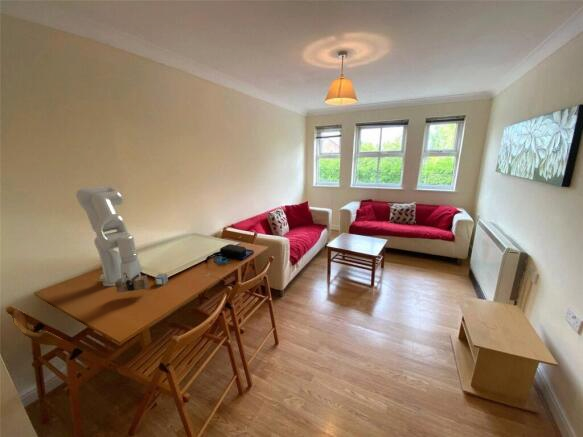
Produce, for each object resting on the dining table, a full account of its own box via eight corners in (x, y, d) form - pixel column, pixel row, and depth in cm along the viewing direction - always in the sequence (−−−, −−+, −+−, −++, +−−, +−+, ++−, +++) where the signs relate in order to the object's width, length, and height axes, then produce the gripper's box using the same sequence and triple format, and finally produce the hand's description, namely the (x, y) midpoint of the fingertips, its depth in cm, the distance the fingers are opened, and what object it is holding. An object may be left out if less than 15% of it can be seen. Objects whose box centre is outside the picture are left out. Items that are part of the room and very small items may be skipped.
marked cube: (155, 285, 147) (154, 277, 146) (160, 280, 152) (159, 273, 151) (163, 285, 147) (162, 277, 146) (168, 280, 152) (167, 273, 151)
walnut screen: (117, 292, 131) (115, 282, 129) (121, 287, 136) (119, 278, 134) (145, 289, 134) (143, 279, 132) (148, 284, 139) (146, 275, 137)
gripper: (133, 251, 139) (138, 279, 143) (110, 264, 122) (117, 295, 127) (145, 251, 138) (150, 279, 143) (124, 264, 122) (131, 295, 126)
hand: (135, 286), depth 135 cm, fingers closed on walnut screen, 5 cm apart
